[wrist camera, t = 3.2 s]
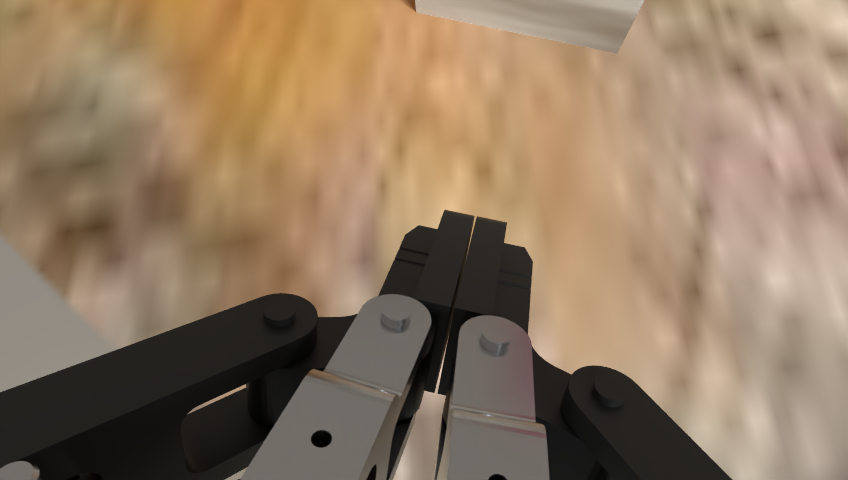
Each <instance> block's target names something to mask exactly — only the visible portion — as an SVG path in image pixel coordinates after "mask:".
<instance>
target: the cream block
mask: <svg viewBox="0 0 848 480" xmlns="http://www.w3.org/2000/svg"><path fill="white" fill-rule="evenodd" d="M643 2H644V0H415V5H416V13H421V14H426V15H430V16H435V17H440V18H445V19H450V20H455V21H460V22H465V23H470V24H475V25H480V26H484V27H489V28H494V29H499V30H504V31H509V32H514V33H519V34H524V35H529V36H534V37H538V38H543V39H548V40H553V41H558V42H563V43H568V44H573V45H578V46H583V47H588V48H593V49H597V50H602V51H607V52H612V53H618V51H619V49H620V47H621V45H622V43H623V41H624V39H625V37H626V35H627V33H628V31H629V29H630V27H631V25H632V23H633V21H634V20H635V18H636V16H637V14H638V12H639V10H640V8H641V6H642V4H643Z"/></svg>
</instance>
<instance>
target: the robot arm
mask: <svg viewBox="0 0 848 480" xmlns="http://www.w3.org/2000/svg"><path fill="white" fill-rule="evenodd" d="M473 221H474V216H472V215H467V214H463V213H458V212H453V211H448V210H444V213H443V216H442V218H441V221H440V224H439V227H438V229H434V228H429V227H424V226H420V225H419V226H417V227H416V228H414V229H413V230H411V231H410V232H409V233H407V234H406V235H405V237H404V239H403V241H402V243H401V246H400V249H399V250H398V253H397V255H396V257H395V261H394V262H393V264H392V266H391V268H390V271H389V273H388V275H387V278H386V280H385V282H384V284H383V287H382V289H381V291H380V293H379V296H377V297H374V298H372V299H370V300H369V301H367V302H366V303H365V304H364V305H363V307H362V308H361V310H360V311H359V313H358V314H355V315H352V316H346V317H318V315H317V311H316V309H315V307H314V306H313V305H312V304H311V303H310V302H309V301H308V300H306V299H304V298H302V297H300V296H297V295H293V294H283V293H279V294H271V295H266V296H263V297H260V298H257V299H254V300H252V301H249V302H246V303H244V304H241V305H238V306H235V307H233V308H230V309H227V310H224V311H222V312H219V313H216V314H213V315H211V316H208V317H205V318H203V319H200V320H197V321H194V322H192V323H189V324H186V325H183V326H181V327H178V328H175V329H172V330H170V331H167V332H164V333H162V334H159V335H156V336H153V337H151V338H148V339H145V340H142V341H140V342H137V343H134V344H131V345H129V346H126V347H123V348H121V349H118V350H115V351H112V352H110V353H107V354H104V355H101V356H99V357H96V358H93V359H91V360H88V361H85V362H82V363H80V364H77V365H74V366H71V367H69V368H66V369H63V370H61V371H58V372H55V373H52V374H50V375H47V376H44V377H41V378H38V379H36V380H33V381H30V382H28V383H25V384H22V385H19V386H17V387H14V388H11V389H8V390H6V391H3V392H0V480H224V479H226V478H228V477H230V476H232V475H233V474H235V473H237V472H239V471H241V470H243V469H245V468H246V467H248V468H247V469H246V471H245V473H244V474H243V476H242V477H241V479H238V480H393V478H394V475H395V472H396V470H397V467H398V464H399V462H400V459H401V456H402V454H403V451H404V448H405V445H406V443H407V440H408V437H409V435H410V432H411V429H412V427H413V424H414V421H415V416H416V412H417V410H418V409H419V407H420V404H421V401H422V397H423V393H424V391H428V392H433V393H435V388H436V384H437V380H438V376H439V372H440V368H441V364H442V360H443V356H444V352H445V348H446V344H447V348H446V353H445V358H444V363H443V368H442V373H441V379H440V384H439V389H438V394H442V395H446V399H445V404H444V408H443V414H442V418H441V423H440V428H439V436H438V444H437V452H436V460H435V468H434V476H433V480H732V479H731V478H730V477H729V476H728V475H727V474H726V473H725V472H724V471H723V470H722V469H721V468H720V467H719V466H718V465H717V464H716V463H715V462H714V461H713V460H712V459H711V458H710V457H709V456H708V455H707V454H706V453H705V452H704V451H703V450H702V449H701V448H700V447H699V446H698V445H697V444H696V443H695V442H694V441H693V440H692V439H691V438H690V437H689V436H688V435H687V434H686V433H685V432H684V431H683V430H682V429H681V428H680V427H679V426H678V425H677V424H676V423H675V422H674V421H673V420H672V419H671V418H670V417H669V416H668V415H667V414H666V413H665V412H664V411H663V410H662V409H661V408H660V407H659V406H658V405H657V404H656V403H655V402H654V401H653V400H652V399H651V398H650V397H649V396H648V395H647V394H646V393H645V392H644V391H643V390H642V389H641V388H640V387H639V386H638V385H637V384H636V383H635V382H634V381H633V380H632V379H630V378H629V377H627V376H626V375H624V374H622V373H621V372H619V371H616V370H614V369H611V368H608V367H603V366H586V367H582V368H580V369H578V370H576V371H575V372H574V373H573V374H572V375H571V374H569V373H567V372H565V371H563V370H561V369H559V368H557V367H555V366H553V365H551V364H550V363H548V362H547V361H545V360H544V359H543V358H542V357H540V356H539V355H538V354H537V352H536V351H535V350H534V349H533V347H532V344H531V340H530V338H529V336H528V322H529V308H530V294H531V290H530V289H531V280H532V279H531V277H532V266H533V261H532V259H531V258H530V256H529V254H528V252H527V251H526V249H525V247H520V246H515V245H510V244H506V243H504V238H505V232H506V225H507V222H502V221H497V220H492V219H487V218H482V217H478V216H477V218H476V222H475V226H474V230H473V234H472V238H471V242H470V237H471V232H472V227H473ZM469 242H470V246H469ZM468 247H469V250H468ZM467 252H468V254H467ZM466 257H467V258H466ZM448 336H449V337H448ZM447 340H448V343H447ZM245 384H246V388H244V389H242V390H240V391H238V392H235V393H233V394H231V395H229V396H227V397H224V398H222V399H220V400H218V401H216V402H214V403H211V404H209V405H207V406H205V407H203V408H201V409H198V410H196V411H194V412H192V413H190V414H188V413H189V412H190V411H191V410H192V409H194V408H195V407H197V406H199V405H201V404H203V403H205V402H207V401H209V400H212V399H214V398H216V397H218V396H220V395H223V394H225V393H227V392H229V391H231V390H234V389H236V388H238V387H240V386H242V385H245Z"/></svg>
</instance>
